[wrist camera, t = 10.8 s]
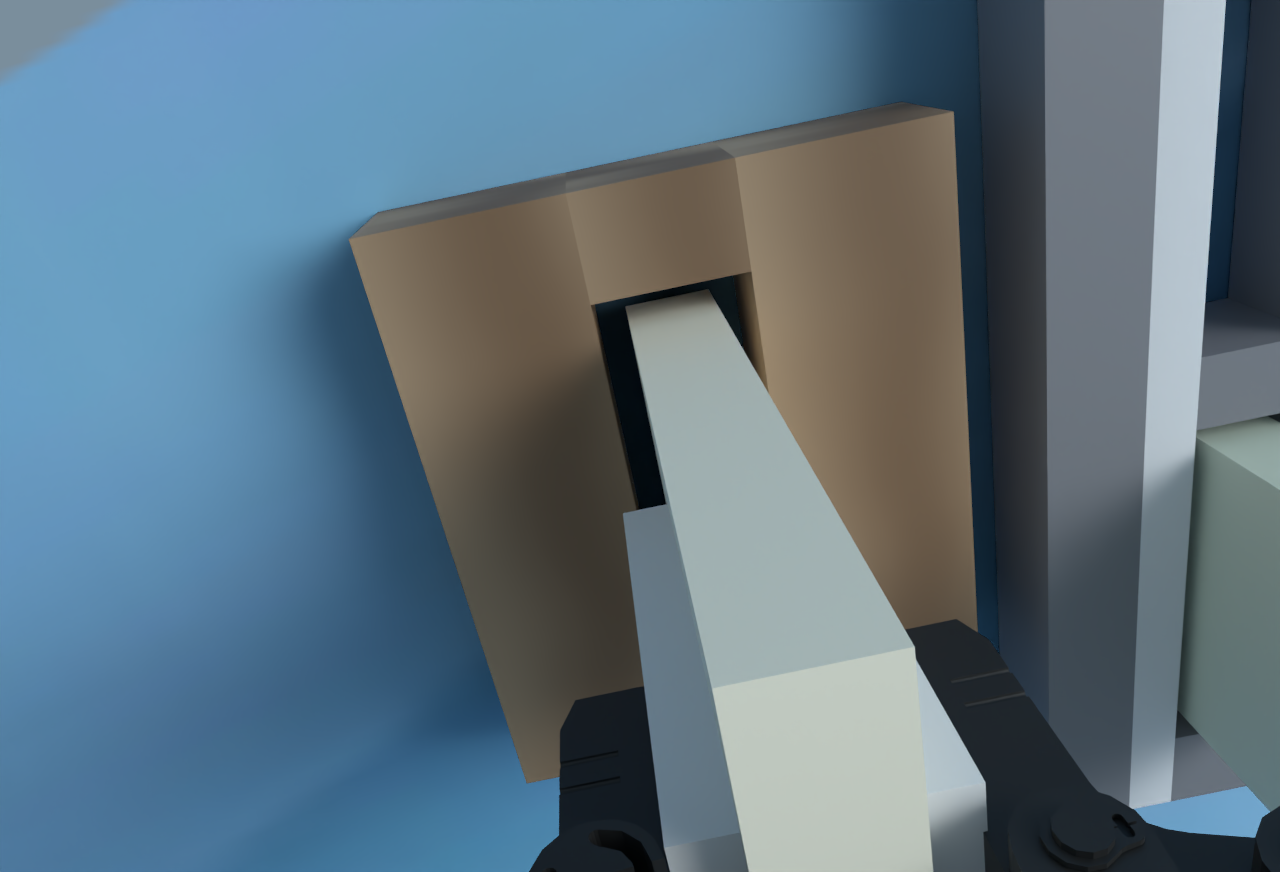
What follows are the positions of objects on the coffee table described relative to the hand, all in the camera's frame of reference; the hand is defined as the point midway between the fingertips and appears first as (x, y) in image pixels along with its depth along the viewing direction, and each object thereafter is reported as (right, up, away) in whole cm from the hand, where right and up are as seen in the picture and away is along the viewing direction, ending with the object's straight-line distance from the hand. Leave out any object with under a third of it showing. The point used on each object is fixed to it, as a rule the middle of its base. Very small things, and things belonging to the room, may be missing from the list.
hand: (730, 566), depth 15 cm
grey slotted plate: (+10, +4, +4) cm, 12 cm away
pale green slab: (0, +2, +4) cm, 4 cm away
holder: (0, +2, +5) cm, 5 cm away
